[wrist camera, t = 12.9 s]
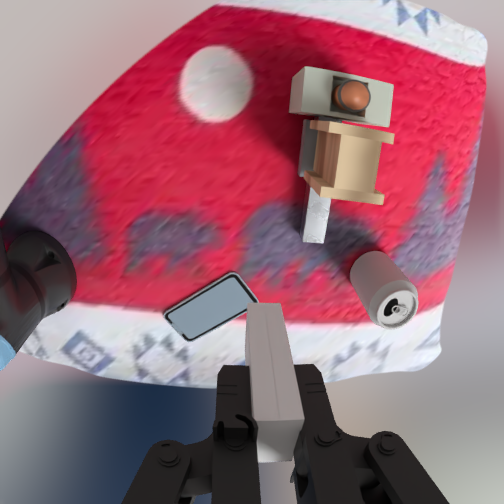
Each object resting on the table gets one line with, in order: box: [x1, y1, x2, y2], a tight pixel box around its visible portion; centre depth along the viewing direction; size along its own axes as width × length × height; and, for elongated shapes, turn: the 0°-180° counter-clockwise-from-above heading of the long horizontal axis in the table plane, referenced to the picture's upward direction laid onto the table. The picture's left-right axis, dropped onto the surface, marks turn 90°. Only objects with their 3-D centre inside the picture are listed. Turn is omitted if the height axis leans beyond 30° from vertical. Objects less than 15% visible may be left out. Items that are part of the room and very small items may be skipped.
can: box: [350, 251, 418, 329], centre depth 44 cm, size 8×8×12 cm
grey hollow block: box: [289, 66, 394, 127], centre depth 34 cm, size 10×5×10 cm, turn 85°
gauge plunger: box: [331, 79, 371, 112], centre depth 30 cm, size 3×3×4 cm
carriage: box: [297, 119, 394, 205], centre depth 34 cm, size 7×7×14 cm
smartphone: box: [164, 272, 258, 342], centre depth 52 cm, size 7×1×15 cm
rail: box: [299, 116, 342, 243], centre depth 42 cm, size 3×17×3 cm, turn 175°
